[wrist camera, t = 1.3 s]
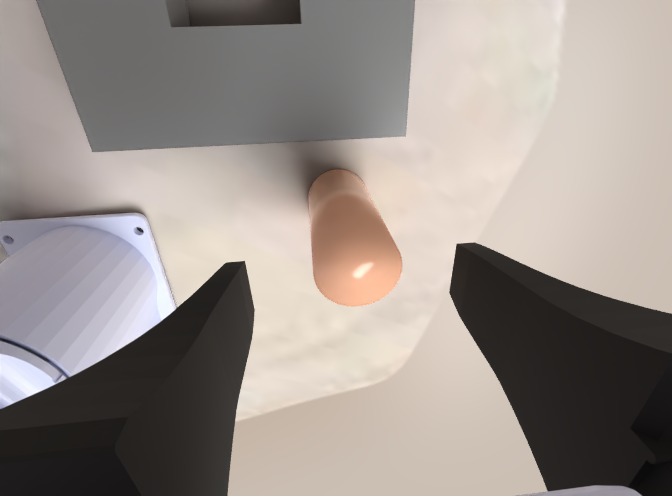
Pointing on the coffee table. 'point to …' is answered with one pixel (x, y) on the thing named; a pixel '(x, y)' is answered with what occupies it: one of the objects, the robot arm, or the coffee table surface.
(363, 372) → the coffee table surface
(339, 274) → the peg
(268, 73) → the socket
